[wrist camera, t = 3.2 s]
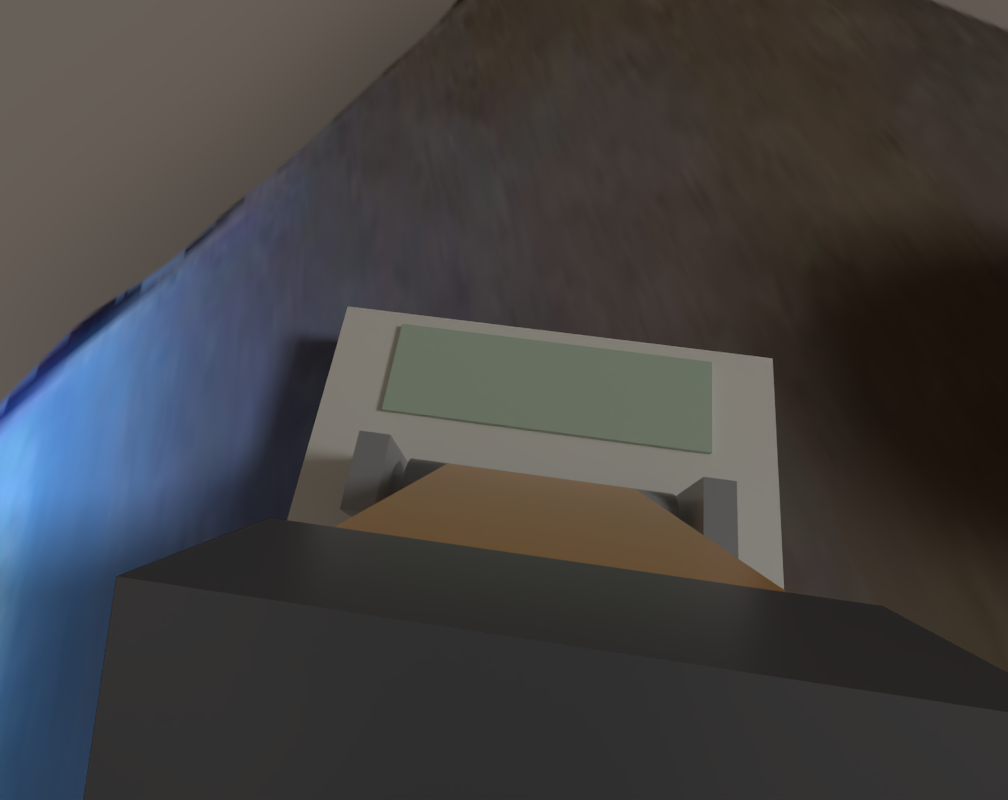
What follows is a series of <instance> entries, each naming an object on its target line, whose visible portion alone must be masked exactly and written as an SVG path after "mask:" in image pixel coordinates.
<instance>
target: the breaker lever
mask: <svg viewBox="0 0 1008 800" xmlns="http://www.w3.org/2000/svg"><path fill="white" fill-rule="evenodd" d="M83 800H1008V673H1007V672H1005V671H1004V670H1002V669H1000V668H998V667H996V666H994V665H992V664H990V663H989V662H987V661H985V660H983V659H981V658H979V657H977V656H976V655H974V654H972V653H970V652H968V651H966V650H964V649H962V648H961V647H959V646H957V645H955V644H953V643H951V642H949V641H947V640H946V639H944V638H942V637H940V636H938V635H936V634H934V633H932V632H931V631H929V630H927V629H925V628H923V627H921V626H919V625H917V624H916V623H914V622H912V621H910V620H908V619H906V618H904V617H903V616H901V615H899V614H897V613H895V612H893V611H891V610H889V609H888V608H886V607H884V606H878V605H871V604H864V603H857V602H851V601H844V600H837V599H830V598H823V597H816V596H809V595H802V594H795V593H788V592H787V591H785V590H784V589H782V588H781V587H779V586H778V585H776V584H775V583H773V582H772V581H770V580H769V579H767V578H766V577H764V576H763V575H762V574H760V573H759V572H757V571H756V570H754V569H753V568H751V567H750V566H748V565H747V564H745V563H744V562H742V561H741V560H739V559H738V558H736V557H735V556H734V555H732V554H731V553H729V552H728V551H726V550H725V549H723V548H722V547H720V546H719V545H717V544H716V543H714V542H713V541H711V540H710V539H708V538H707V537H705V536H704V535H703V534H701V533H700V532H698V531H697V530H695V529H694V528H692V527H691V526H689V525H688V524H686V523H685V522H683V521H682V520H680V519H679V508H678V502H677V499H676V496H675V495H674V494H670V493H663V492H656V491H648V490H641V489H634V488H626V487H619V486H612V485H605V484H597V483H590V482H583V481H575V480H568V479H561V478H553V477H546V476H539V475H531V474H524V473H517V472H509V471H502V470H495V469H487V468H480V467H473V466H465V465H458V464H451V463H443V462H436V461H429V460H421V459H414V458H411V459H410V460H409V461H408V463H407V466H406V468H405V471H404V475H403V479H402V484H401V490H399V491H398V492H396V493H394V494H392V495H390V496H389V497H387V498H385V499H383V500H382V501H380V502H378V503H376V504H374V505H373V506H371V507H369V508H367V509H365V510H364V511H362V512H360V513H358V514H356V515H355V516H353V517H351V518H349V519H348V520H346V521H344V522H342V523H340V524H339V525H337V526H335V527H331V526H324V525H317V524H310V523H303V522H296V521H289V520H282V519H275V518H267V519H264V520H262V521H259V522H256V523H254V524H251V525H249V526H246V527H243V528H241V529H238V530H236V531H233V532H230V533H228V534H225V535H223V536H220V537H217V538H215V539H212V540H210V541H207V542H204V543H202V544H199V545H197V546H194V547H191V548H189V549H186V550H184V551H181V552H178V553H176V554H173V555H171V556H168V557H165V558H163V559H160V560H158V561H155V562H152V563H150V564H147V565H145V566H142V567H139V568H137V569H134V570H132V571H129V572H126V573H124V574H121V575H119V576H116V583H115V589H114V596H113V603H112V609H111V616H110V623H109V630H108V636H107V643H106V650H105V657H104V663H103V670H102V677H101V684H100V690H99V697H98V704H97V711H96V717H95V724H94V731H93V737H92V744H91V751H90V758H89V764H88V771H87V778H86V785H85V791H84V798H83Z"/></svg>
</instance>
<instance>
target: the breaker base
mask: <svg viewBox="0 0 1008 800" xmlns="http://www.w3.org/2000/svg"><path fill="white" fill-rule="evenodd" d="M411 458H414V459H421V460H429V461H436V462H443V463H451V464H458V465H465V466H473V467H480V468H487V469H495V470H502V471H509V472H517V473H524V474H531V475H539V476H546V477H553V478H561V479H568V480H575V481H583V482H590V483H597V484H605V485H612V486H619V487H626V488H634V489H641V490H648V491H656V492H663V493H670V494H674V495H675V496H676V499H677V502H678V508H679V519H680V520H682V521H683V522H685V523H686V524H688V525H689V526H691V527H692V528H694V529H695V530H697V531H698V532H700V533H701V534H703V535H704V536H705V537H707V538H708V539H710V540H711V541H713V542H714V543H716V544H717V545H719V546H720V547H722V548H723V549H725V550H726V551H728V552H729V553H731V554H732V555H734V556H735V557H736V558H738V559H739V560H741V561H742V562H744V563H745V564H747V565H748V566H750V567H751V568H753V569H754V570H756V571H757V572H759V573H760V574H762V575H763V576H764V577H766V578H767V579H769V580H770V581H772V582H773V583H775V584H776V585H778V586H779V587H781V588H782V589H784V580H783V559H782V539H781V519H780V499H779V478H778V458H777V438H776V417H775V397H774V377H773V358H765V357H756V356H748V355H740V354H732V353H724V352H716V351H707V350H699V349H691V348H683V347H675V346H667V345H658V344H650V343H642V342H634V341H626V340H617V339H609V338H601V337H593V336H585V335H577V334H568V333H560V332H552V331H544V330H536V329H528V328H519V327H511V326H503V325H495V324H487V323H479V322H470V321H462V320H454V319H446V318H438V317H430V316H421V315H413V314H405V313H397V312H389V311H380V310H372V309H364V308H356V307H348V308H347V311H346V315H345V318H344V322H343V325H342V329H341V332H340V336H339V339H338V343H337V346H336V350H335V353H334V357H333V360H332V364H331V367H330V371H329V374H328V378H327V381H326V385H325V388H324V392H323V395H322V399H321V402H320V406H319V409H318V413H317V416H316V420H315V423H314V427H313V430H312V434H311V437H310V441H309V444H308V448H307V451H306V455H305V458H304V462H303V465H302V469H301V472H300V476H299V479H298V483H297V486H296V490H295V494H294V497H293V501H292V504H291V508H290V511H289V515H288V518H287V520H289V521H296V522H303V523H310V524H317V525H324V526H331V527H335V526H337V525H339V524H340V523H342V522H344V521H346V520H348V519H349V518H351V517H353V516H355V515H356V514H358V513H360V512H362V511H364V510H365V509H367V508H369V507H371V506H373V505H374V504H376V503H378V502H380V501H382V500H383V499H385V498H387V497H389V496H390V495H392V494H394V493H396V492H398V491H399V490H401V484H402V479H403V475H404V471H405V468H406V466H407V463H408V461H409V460H410V459H411Z"/></svg>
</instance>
